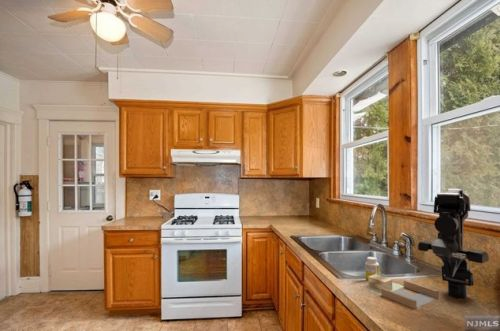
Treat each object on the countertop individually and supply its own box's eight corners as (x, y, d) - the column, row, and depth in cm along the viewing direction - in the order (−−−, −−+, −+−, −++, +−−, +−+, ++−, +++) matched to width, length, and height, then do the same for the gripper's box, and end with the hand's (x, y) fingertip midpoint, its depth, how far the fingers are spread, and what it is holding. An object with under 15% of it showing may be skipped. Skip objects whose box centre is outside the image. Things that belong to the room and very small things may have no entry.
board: (438, 301, 98) (438, 290, 98) (415, 313, 90) (414, 301, 90) (386, 283, 115) (386, 274, 115) (362, 291, 107) (362, 281, 107)
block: (368, 286, 108) (368, 276, 108) (376, 284, 111) (375, 274, 111) (385, 292, 102) (384, 282, 102) (392, 290, 105) (392, 279, 105)
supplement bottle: (374, 279, 120) (374, 255, 121) (382, 283, 115) (381, 259, 115) (363, 279, 120) (362, 256, 120) (369, 284, 114) (369, 260, 115)
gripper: (408, 228, 95) (410, 272, 94) (473, 237, 79) (475, 291, 78) (424, 225, 101) (426, 267, 100) (488, 233, 85) (490, 284, 84)
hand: (451, 276), depth 90 cm, fingers closed
